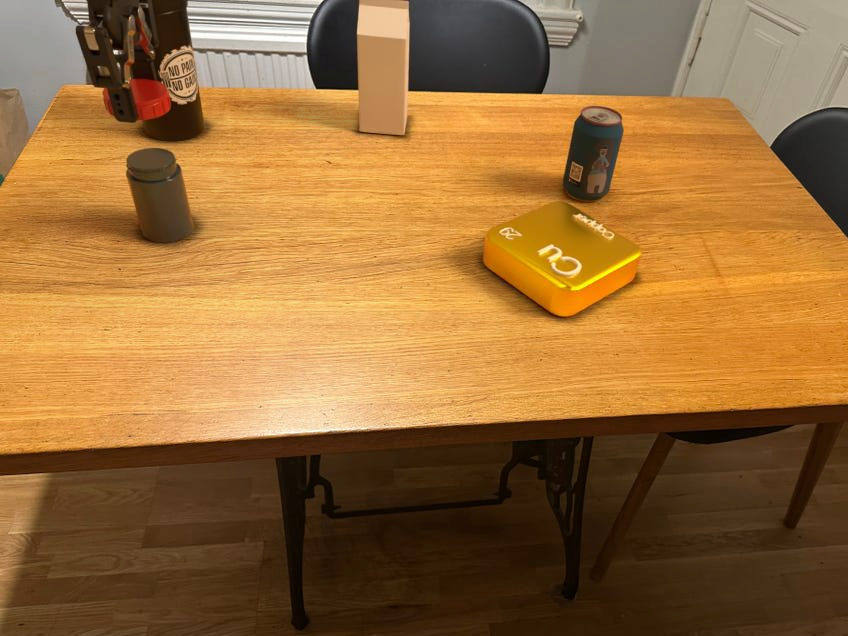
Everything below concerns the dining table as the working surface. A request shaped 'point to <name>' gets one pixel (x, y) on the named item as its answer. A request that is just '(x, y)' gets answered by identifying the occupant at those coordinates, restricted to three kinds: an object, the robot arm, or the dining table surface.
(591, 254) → the element tile
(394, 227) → the dining table surface
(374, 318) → the dining table surface
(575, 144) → the soda can
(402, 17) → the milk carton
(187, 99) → the water bottle
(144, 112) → the jar lid
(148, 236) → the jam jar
